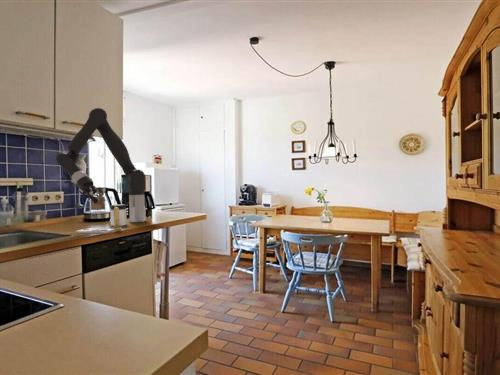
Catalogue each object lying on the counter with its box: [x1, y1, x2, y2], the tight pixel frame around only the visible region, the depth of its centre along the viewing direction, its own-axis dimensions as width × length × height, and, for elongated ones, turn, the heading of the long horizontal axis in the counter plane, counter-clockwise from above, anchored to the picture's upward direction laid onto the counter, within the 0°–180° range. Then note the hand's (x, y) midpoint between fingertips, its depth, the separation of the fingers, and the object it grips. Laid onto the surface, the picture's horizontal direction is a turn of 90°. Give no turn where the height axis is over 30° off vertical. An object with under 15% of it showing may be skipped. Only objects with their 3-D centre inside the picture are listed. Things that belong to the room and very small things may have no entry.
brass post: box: [111, 207, 122, 231], centre depth 172 cm, size 4×4×12 cm
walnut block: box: [90, 196, 106, 211], centre depth 175 cm, size 5×5×7 cm
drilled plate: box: [75, 227, 115, 235], centre depth 165 cm, size 8×17×1 cm, turn 73°
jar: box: [109, 203, 128, 227], centre depth 190 cm, size 9×8×12 cm
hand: (100, 201), depth 175 cm, fingers closed on walnut block, 5 cm apart
